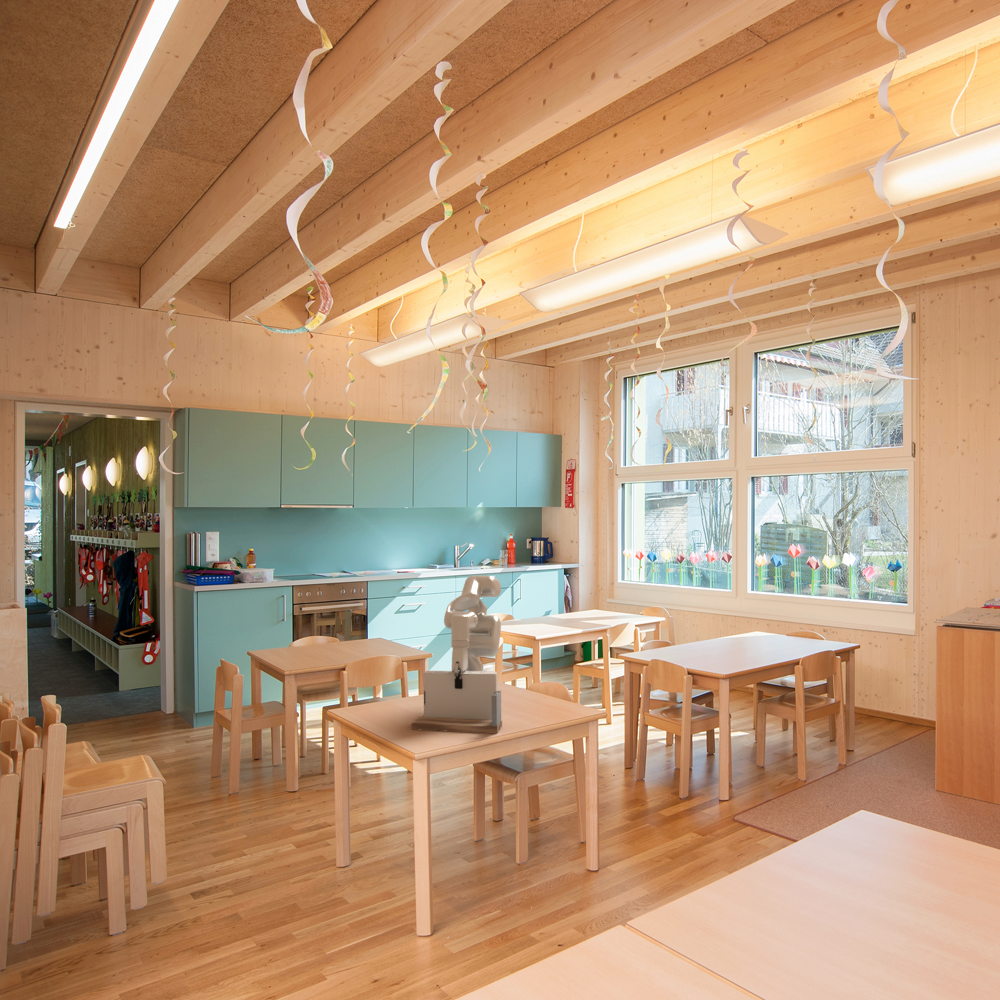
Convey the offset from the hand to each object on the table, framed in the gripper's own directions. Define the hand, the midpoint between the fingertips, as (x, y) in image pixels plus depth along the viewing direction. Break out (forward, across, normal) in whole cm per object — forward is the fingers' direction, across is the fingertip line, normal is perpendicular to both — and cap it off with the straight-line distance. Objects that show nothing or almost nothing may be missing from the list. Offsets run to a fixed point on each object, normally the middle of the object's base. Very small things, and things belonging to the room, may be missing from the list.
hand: (460, 686), depth 322 cm
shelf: (+14, +12, +2) cm, 19 cm away
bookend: (+12, +12, +18) cm, 24 cm away
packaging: (+14, 0, 0) cm, 14 cm away
